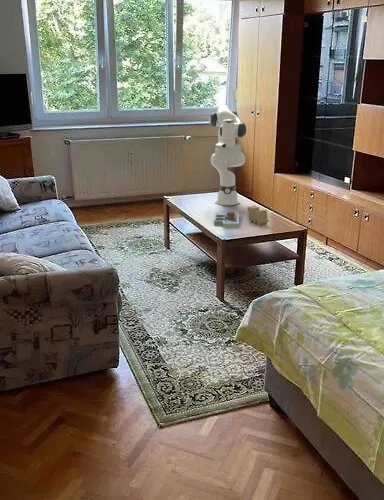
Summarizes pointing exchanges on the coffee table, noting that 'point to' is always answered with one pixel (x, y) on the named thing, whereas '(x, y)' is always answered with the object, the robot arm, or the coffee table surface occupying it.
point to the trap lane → (220, 220)
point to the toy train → (257, 215)
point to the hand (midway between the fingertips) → (228, 164)
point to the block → (230, 214)
